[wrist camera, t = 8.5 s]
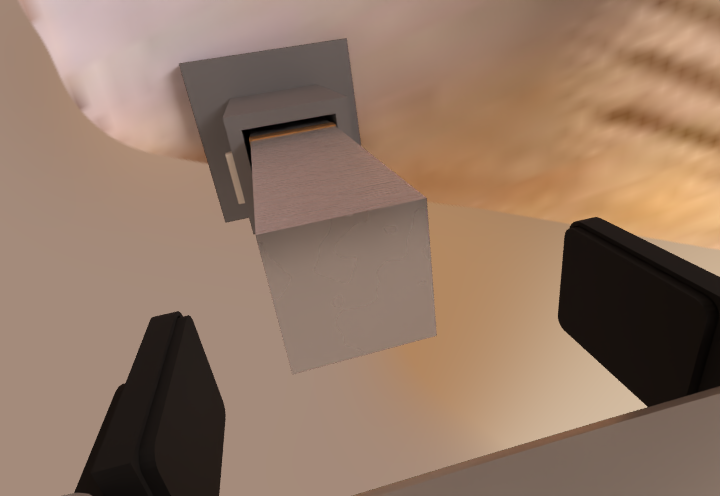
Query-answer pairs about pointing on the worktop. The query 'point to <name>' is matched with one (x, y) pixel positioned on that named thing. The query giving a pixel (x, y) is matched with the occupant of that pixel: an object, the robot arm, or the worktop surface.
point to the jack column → (339, 244)
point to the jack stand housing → (264, 107)
